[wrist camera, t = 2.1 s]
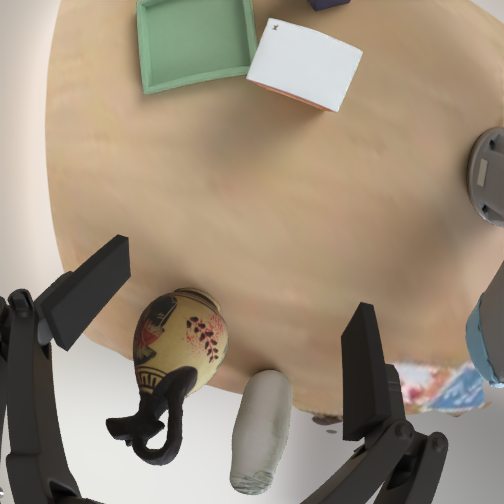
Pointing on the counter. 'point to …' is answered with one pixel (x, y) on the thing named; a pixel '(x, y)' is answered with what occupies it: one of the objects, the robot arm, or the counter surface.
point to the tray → (194, 41)
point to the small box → (304, 64)
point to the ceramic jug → (171, 367)
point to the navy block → (325, 3)
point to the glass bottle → (260, 432)
